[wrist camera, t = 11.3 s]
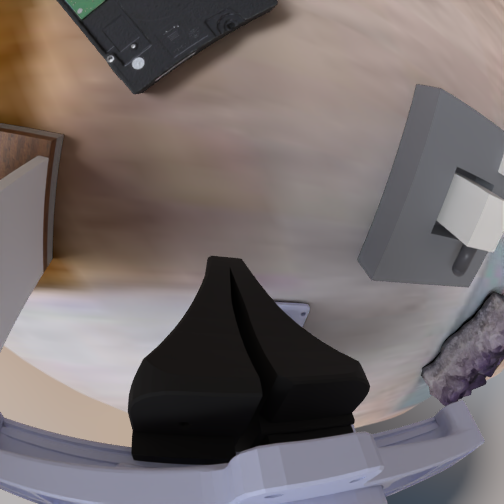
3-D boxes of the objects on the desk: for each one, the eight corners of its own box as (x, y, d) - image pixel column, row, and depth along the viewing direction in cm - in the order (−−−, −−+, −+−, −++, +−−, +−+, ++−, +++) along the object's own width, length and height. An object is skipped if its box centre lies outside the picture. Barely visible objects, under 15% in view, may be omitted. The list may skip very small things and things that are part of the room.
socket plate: (454, 271, 29) (472, 291, 26) (357, 260, 26) (375, 286, 23) (507, 141, 22) (533, 153, 18) (416, 84, 18) (448, 89, 15)
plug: (441, 248, 27) (476, 284, 22) (411, 243, 26) (448, 282, 21) (470, 179, 23) (514, 206, 18) (442, 166, 22) (489, 194, 17)
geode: (439, 379, 44) (457, 422, 36) (404, 366, 41) (424, 417, 33) (518, 298, 36) (549, 337, 27) (496, 270, 33) (535, 315, 24)
